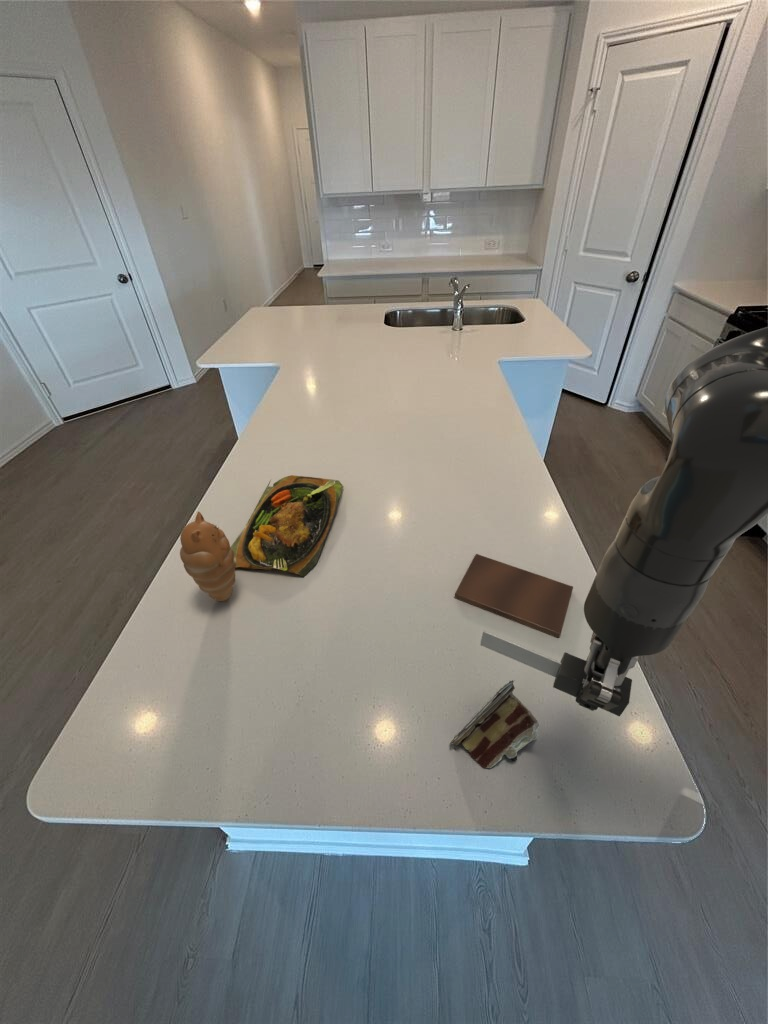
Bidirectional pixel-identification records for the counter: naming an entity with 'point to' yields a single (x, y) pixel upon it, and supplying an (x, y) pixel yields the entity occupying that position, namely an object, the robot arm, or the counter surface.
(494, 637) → the knife
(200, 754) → the counter surface
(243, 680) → the counter surface
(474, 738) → the chocolate cake
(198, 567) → the cat ice cream
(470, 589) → the board
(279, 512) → the prepared meal
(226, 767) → the counter surface
